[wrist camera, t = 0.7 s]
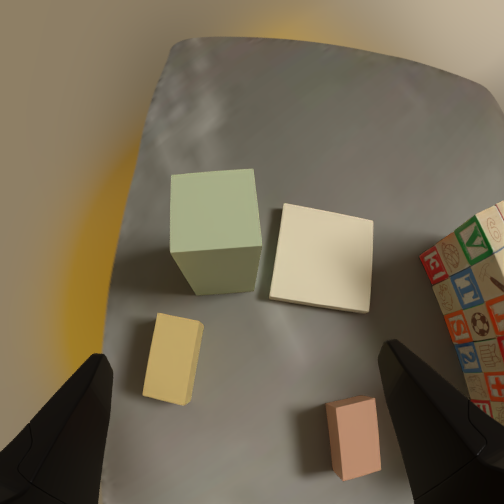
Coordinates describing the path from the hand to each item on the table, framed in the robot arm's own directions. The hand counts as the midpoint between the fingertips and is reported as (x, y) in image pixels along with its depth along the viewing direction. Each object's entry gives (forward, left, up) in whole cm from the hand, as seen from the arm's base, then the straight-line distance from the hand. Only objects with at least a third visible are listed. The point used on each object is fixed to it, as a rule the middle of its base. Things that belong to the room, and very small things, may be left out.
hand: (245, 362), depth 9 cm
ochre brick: (-1, +5, -15) cm, 16 cm away
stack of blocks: (+3, -22, -15) cm, 27 cm away
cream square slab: (+9, -5, -15) cm, 18 cm away
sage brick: (+7, +3, -15) cm, 17 cm away
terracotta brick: (-5, -9, -15) cm, 18 cm away
